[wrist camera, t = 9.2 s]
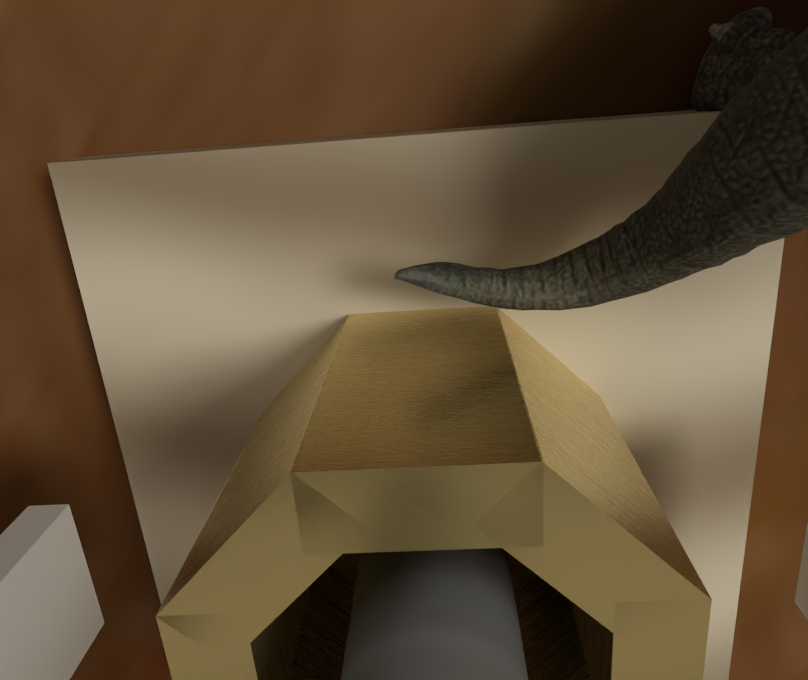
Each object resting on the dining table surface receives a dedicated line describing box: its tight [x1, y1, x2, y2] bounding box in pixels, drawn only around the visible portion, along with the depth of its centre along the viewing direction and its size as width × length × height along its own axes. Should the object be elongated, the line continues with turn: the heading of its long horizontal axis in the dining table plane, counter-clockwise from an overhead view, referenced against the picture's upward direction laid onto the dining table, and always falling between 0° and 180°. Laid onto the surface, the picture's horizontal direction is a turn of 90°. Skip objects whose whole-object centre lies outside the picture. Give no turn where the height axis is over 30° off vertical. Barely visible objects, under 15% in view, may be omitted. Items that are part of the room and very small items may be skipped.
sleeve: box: [156, 306, 712, 680], centre depth 12 cm, size 7×7×6 cm
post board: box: [47, 110, 784, 680], centre depth 10 cm, size 14×14×12 cm
